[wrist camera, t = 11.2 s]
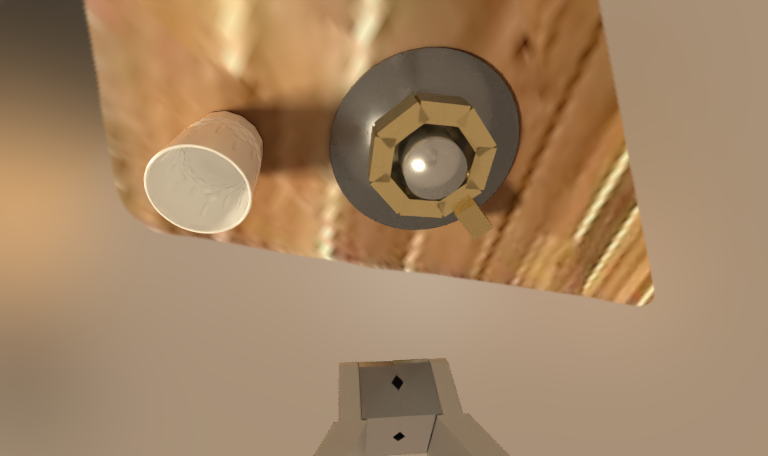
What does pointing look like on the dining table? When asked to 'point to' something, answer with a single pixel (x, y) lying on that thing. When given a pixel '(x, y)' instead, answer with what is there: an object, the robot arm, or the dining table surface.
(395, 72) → the hub plate
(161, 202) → the white cup
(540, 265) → the dining table surface
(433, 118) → the ring nut
